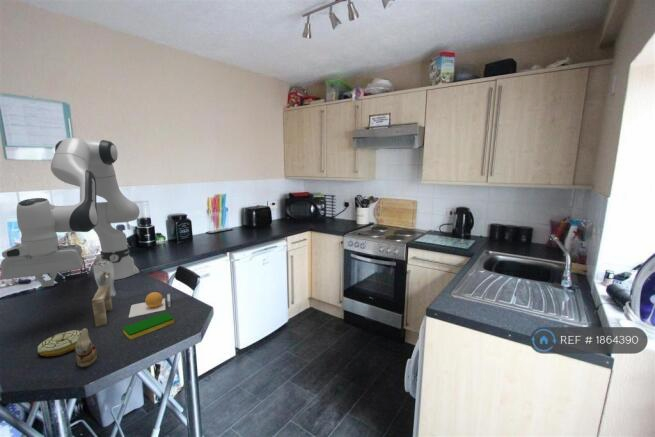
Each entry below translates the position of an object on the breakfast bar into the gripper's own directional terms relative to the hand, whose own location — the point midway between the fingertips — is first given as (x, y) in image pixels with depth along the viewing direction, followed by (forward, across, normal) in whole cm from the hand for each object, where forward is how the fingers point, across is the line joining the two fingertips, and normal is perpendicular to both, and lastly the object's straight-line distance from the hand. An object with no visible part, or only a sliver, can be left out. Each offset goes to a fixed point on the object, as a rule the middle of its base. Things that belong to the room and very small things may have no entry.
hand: (48, 286), depth 101 cm
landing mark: (+15, -28, 0) cm, 32 cm away
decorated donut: (+16, -6, +18) cm, 25 cm away
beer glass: (+15, -12, -23) cm, 30 cm away
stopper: (+15, -36, 0) cm, 39 cm away
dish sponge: (+16, -29, +18) cm, 38 cm away
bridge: (+15, -14, 0) cm, 21 cm away
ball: (+12, -30, 0) cm, 33 cm away
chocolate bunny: (+15, -14, +30) cm, 37 cm away
